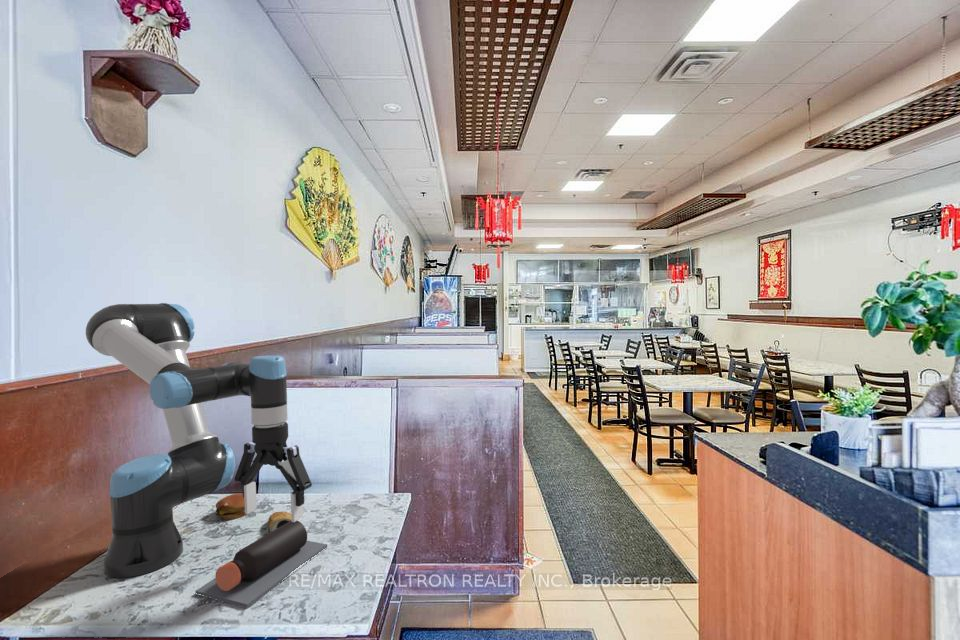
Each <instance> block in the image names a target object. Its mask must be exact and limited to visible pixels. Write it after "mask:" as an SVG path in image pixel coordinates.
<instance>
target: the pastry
mask: <svg viewBox="0 0 960 640" xmlns="http://www.w3.org/2000/svg"><path fill="white" fill-rule="evenodd" d="M290 521H292V519H291V512H287V511H275V512H273V513H272V514H270V515H269V516H268V520H267V523H266V524H267V526H268V528H269V529H270V530H269V533H271V532H272V531H274V530H276V529H277V528H279V527H281V526H283V525H284V524H286V523H288V522H290Z"/></svg>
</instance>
